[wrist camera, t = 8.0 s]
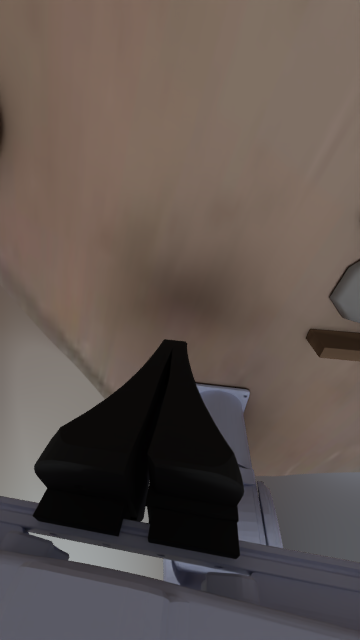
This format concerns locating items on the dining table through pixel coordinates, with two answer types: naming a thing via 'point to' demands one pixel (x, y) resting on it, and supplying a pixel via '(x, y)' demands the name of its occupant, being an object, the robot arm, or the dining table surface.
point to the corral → (335, 344)
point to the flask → (348, 294)
